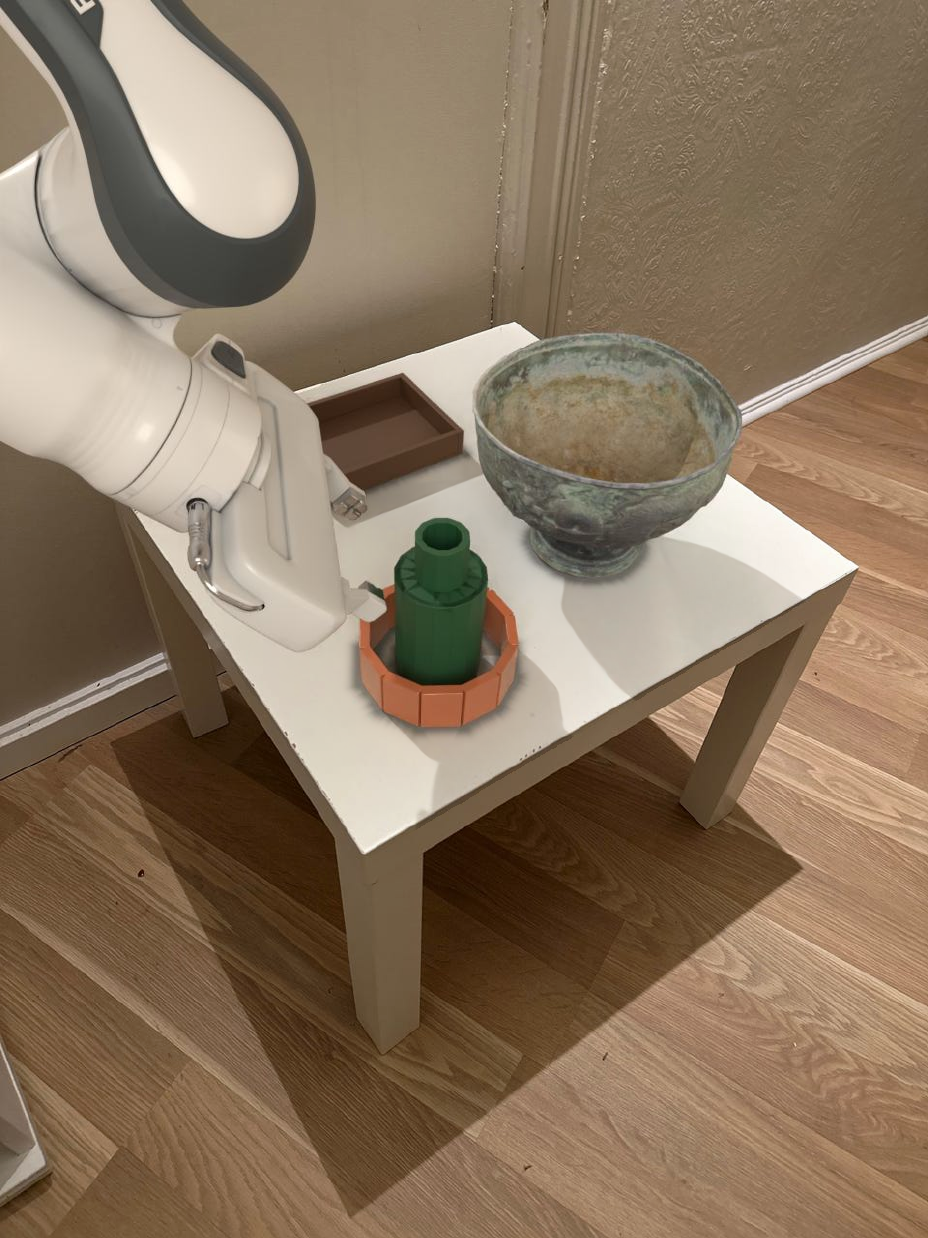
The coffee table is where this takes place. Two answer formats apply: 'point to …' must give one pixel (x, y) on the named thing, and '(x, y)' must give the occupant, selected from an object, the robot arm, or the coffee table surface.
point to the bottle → (439, 606)
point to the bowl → (602, 444)
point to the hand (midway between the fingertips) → (369, 555)
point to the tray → (385, 431)
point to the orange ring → (440, 700)
